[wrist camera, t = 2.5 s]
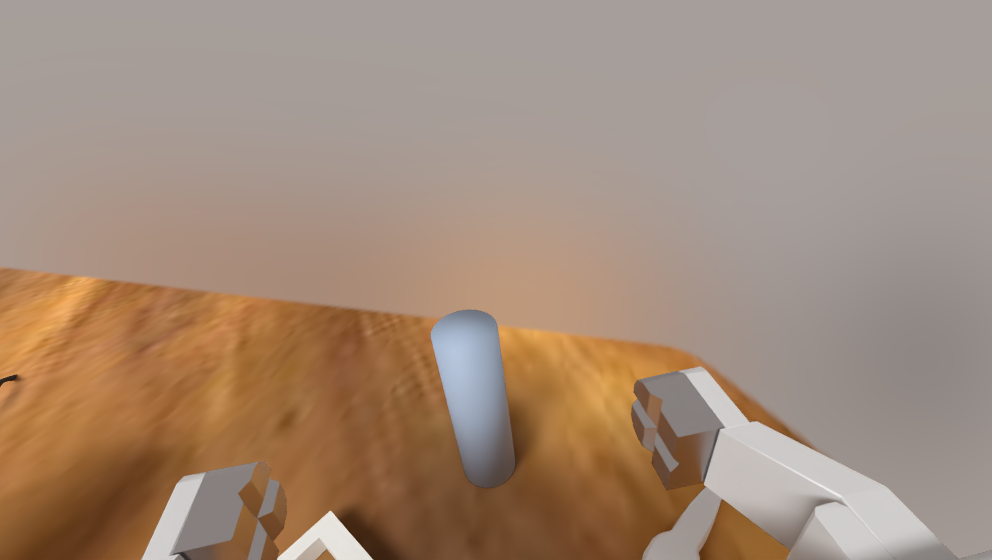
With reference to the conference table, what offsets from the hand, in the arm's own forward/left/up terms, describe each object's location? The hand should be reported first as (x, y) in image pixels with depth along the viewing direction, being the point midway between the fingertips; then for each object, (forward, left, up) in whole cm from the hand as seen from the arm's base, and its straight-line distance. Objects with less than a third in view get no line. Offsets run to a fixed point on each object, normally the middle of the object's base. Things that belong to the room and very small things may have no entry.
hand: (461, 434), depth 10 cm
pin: (+9, -8, -19) cm, 22 cm away
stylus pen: (-3, -11, -20) cm, 23 cm away
